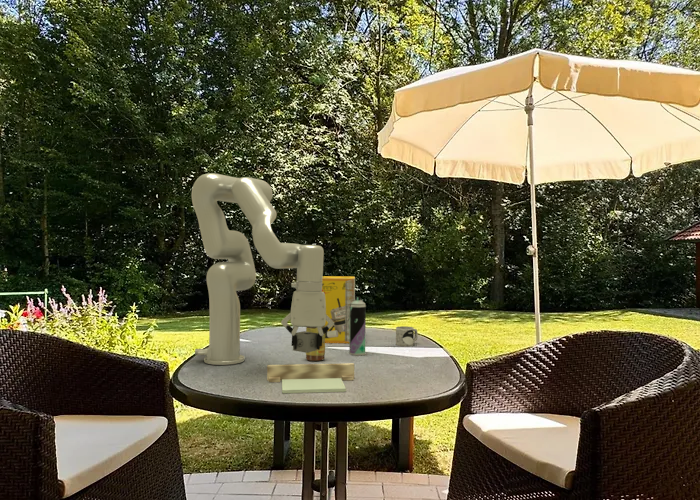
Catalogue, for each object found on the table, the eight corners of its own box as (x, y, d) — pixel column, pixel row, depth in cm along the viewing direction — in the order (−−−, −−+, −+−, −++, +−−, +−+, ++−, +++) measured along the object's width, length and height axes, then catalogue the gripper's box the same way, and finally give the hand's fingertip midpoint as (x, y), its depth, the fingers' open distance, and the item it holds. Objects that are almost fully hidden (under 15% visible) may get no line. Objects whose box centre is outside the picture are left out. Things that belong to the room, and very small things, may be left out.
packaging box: (354, 343, 205) (354, 278, 205) (311, 343, 205) (312, 278, 205) (354, 336, 221) (354, 276, 221) (315, 336, 221) (315, 276, 221)
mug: (404, 347, 198) (404, 329, 198) (392, 344, 203) (392, 327, 203) (423, 344, 204) (423, 327, 204) (410, 342, 210) (410, 325, 210)
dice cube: (306, 352, 153) (307, 335, 153) (292, 350, 155) (293, 333, 155) (316, 350, 157) (317, 333, 157) (303, 347, 160) (303, 331, 160)
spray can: (354, 356, 180) (354, 297, 180) (346, 353, 185) (347, 295, 185) (368, 354, 183) (368, 296, 183) (360, 352, 188) (361, 295, 188)
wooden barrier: (267, 382, 144) (267, 367, 144) (267, 377, 149) (267, 363, 149) (355, 380, 147) (355, 365, 147) (352, 376, 152) (352, 361, 152)
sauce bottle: (322, 362, 170) (322, 300, 170) (303, 361, 172) (303, 299, 172) (327, 358, 177) (327, 298, 177) (308, 357, 178) (309, 297, 178)
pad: (282, 393, 133) (282, 390, 133) (281, 382, 144) (282, 379, 144) (346, 391, 135) (346, 388, 135) (340, 381, 146) (341, 378, 146)
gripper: (279, 287, 151) (276, 350, 151) (340, 289, 153) (337, 351, 154) (279, 285, 159) (276, 345, 159) (337, 287, 161) (334, 346, 161)
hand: (306, 348), depth 156 cm, fingers closed on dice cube, 6 cm apart
